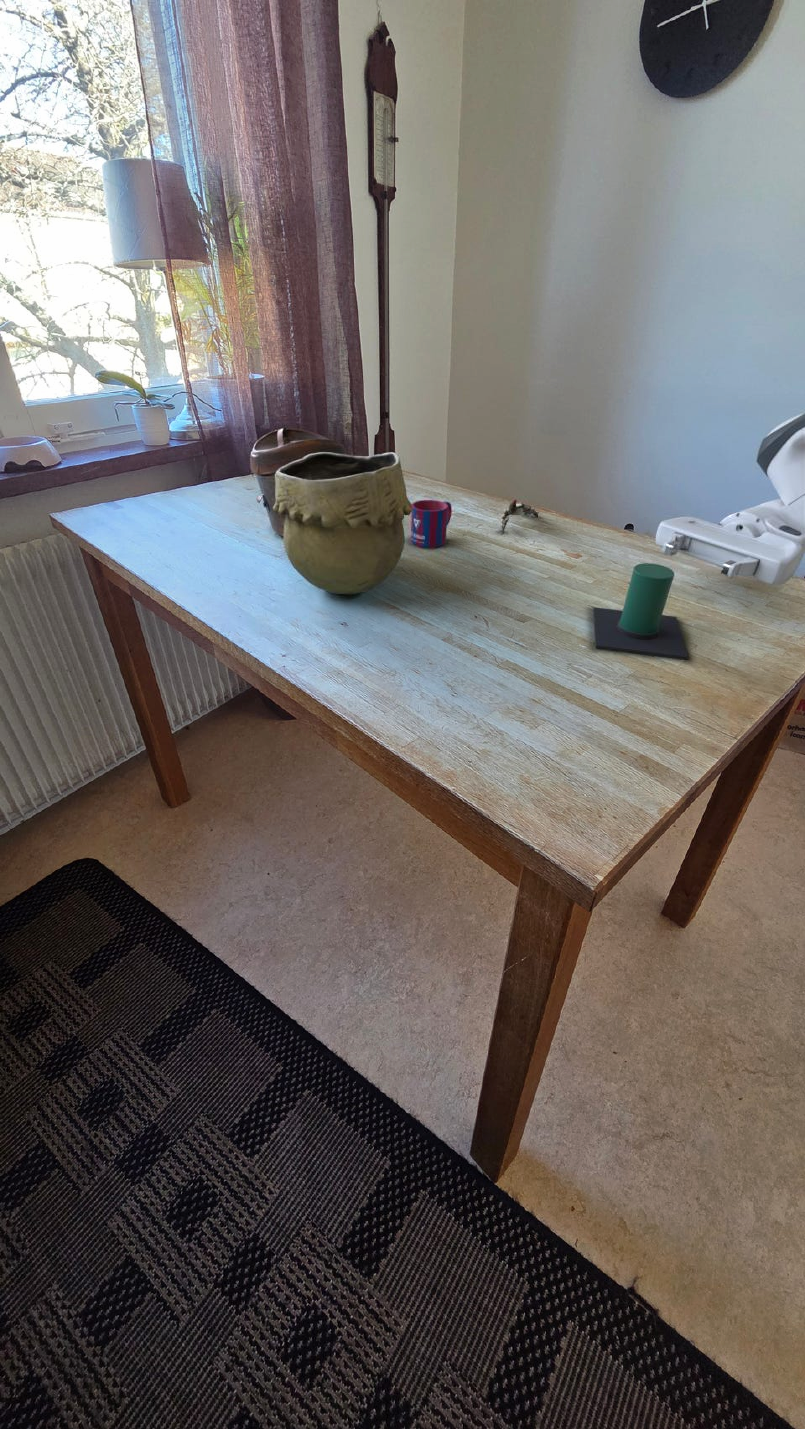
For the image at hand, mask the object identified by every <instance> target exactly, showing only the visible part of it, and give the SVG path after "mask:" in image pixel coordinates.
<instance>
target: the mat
mask: <svg viewBox="0 0 805 1429" xmlns="http://www.w3.org/2000/svg"><path fill="white" fill-rule="evenodd" d="M622 611H623V610H621V609H612V608H603V607H593V609H592V613H593V614H592V618H593V631H594V633H593V634H594V648H595V649H598V650H606V651H613V652H614V651H615V652H622V653H629V654H637V655H638V654H639V655H644V656H646V655H647V656H652V657H661V658H669V659H677V660H686V661H687V660H688V658H689V656H688V654H689V653H688V651H687V648H686V644H685V642H684V639H683V638H684V637H683V635H682V631H681V628H680V625H679V622H678V618H677V616H673V615H664V614H662V617H661V620H660V623H659V632H658V635H657V636H656V637H654V638H652V639H635V638H631V637H628V636H626V635H624V634H622V633H621V632H620V631H619V630H618V628H617V625H618V621H619V620H620V619H621V615H622Z"/></svg>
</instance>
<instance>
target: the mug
mask: <svg viewBox="0 0 805 1429" xmlns="http://www.w3.org/2000/svg"><path fill="white" fill-rule="evenodd" d="M411 504H412V511H411V514H410V543H411V544H412V545H413V546H415V547H419V548H427V549H432V548H433V549H434V548H440V547H442V546H444V545H445V544H446V543H447V528H448V525H449V523H450V521H451V519H452V514H453V513H452V511H453V510H452V509H453V508H452V504H451V502H449V501H445V500H444V501H440V500H436V499H421V500H416V501H414V502H411Z"/></svg>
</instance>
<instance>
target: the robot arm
mask: <svg viewBox="0 0 805 1429" xmlns="http://www.w3.org/2000/svg"><path fill="white" fill-rule="evenodd" d="M756 463H757V465H758V466H759V467H760V469H761V470H762V472H763V473H764V475H765V476H766V477H767V478H768V479H769V481H770V482H771V484H772V486H773V487H774V489H775V491H776V493H777V495H778V496H779V498H778V499H772V500H769V501H766V502H763V503H760V504H758V505H756V506H752V507H748V508H746V509H743V510H740V511H737V512H734V513H731V514H729V515H727V516H726V517H724V518H723V519H722V520H720V522H719V523H716V522H712V521H708V520H705V519H702V518H698V517H694V516H679V517H674V518H669V519H665V520H662V521H661V522H659V525H658V528H657V531H656V534H655V540H654V541H655V544H656V545H657V546H659V547H661V548H662V549H661V554H663V555H666V556H670V557H672V556H675V555H677V553H679V554H682V555H685V556H688V557H690V558H693V559H697V560H699V561H702V562H705V563H709V564H711V565H714V566H717V567H720V568H722V569H721V571H720V574H721V575H722V576H724V577H728V578H734V577H735V576H737V577H740V576H741V577H748V578H751V579H754V580H756V581H760V582H763V583H766V584H768V585H772V586H781V585H783V584H785V583H787V582H789V581H790V580H791V579H792V578H793V576H794V575H795V573H796V572H797V570H798V568H799V566H800V564H801V562H802V560H803V558H804V555H805V412H803V413H800V414H798V415H795V416H793V417H791V418H789V419H787V420H785V421H784V422H781V423H780V424H779V425H777V426H776V427H774V428H773V429H771V431H770V432H769V433H768V434H767V435H766V436H765V437H764V438H763V439H762V440H761V443H760V446H759V448H758V452H757V456H756Z"/></svg>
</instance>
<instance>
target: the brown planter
mask: <svg viewBox="0 0 805 1429" xmlns="http://www.w3.org/2000/svg"><path fill="white" fill-rule="evenodd" d="M319 452H331V453H337V454H343V455H348V453H347V449H346V448H345V446H344V444H343V443H341V442H339V441H336V440H333V439H330V438H328V437H326V436H323V435H321V434H319V433H315V432H312V431H309V430H305V429H301V428H292V427H291V428H290V427H288V428H287V427H285V426H284V427H283V428H279V429H276V430H273V431H271V432H268V433H267V434H265V435H263V436H261V437H260V438H259V439H258V440H257V441H256V442H255V443H254V445H253V448H252V450H251V452H250V457H249V458H250V459H249V469H250V470H251V476H252V477H254V475H255V476H256V480H257V484H258V486H259V490H260V493H261V494H260V495H259V496H258V497H257V498H256V502H257V503H258V504H260V503H261V501H262V505H263V507H264V508H265V509H266V514H267V516H268V519H269V523H270V526H271V528H272V530H273V532H274V533H276V534H277V535H279V536H282V537H284V522H285V515H284V516H282V515H280V513H279V512H278V513H274V511H273V507H274V505H275V503H276V494H275V486H276V482H275V474H276V472H277V470H278V469H279V468H281V467H283V466H285V465H287V464H289V463H291V462H293V461H296V460H300V459H303V458H304V457H305V456H307V455H309V454H314V453H319Z"/></svg>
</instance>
